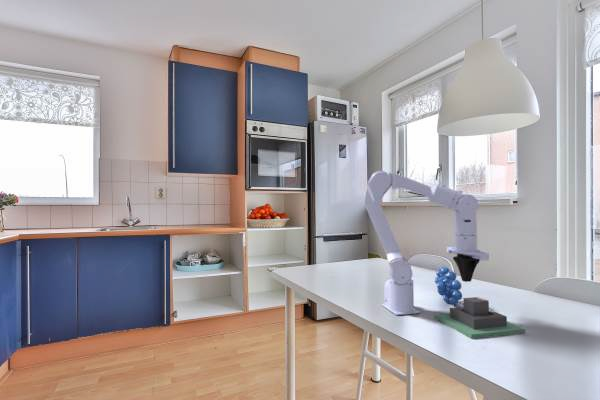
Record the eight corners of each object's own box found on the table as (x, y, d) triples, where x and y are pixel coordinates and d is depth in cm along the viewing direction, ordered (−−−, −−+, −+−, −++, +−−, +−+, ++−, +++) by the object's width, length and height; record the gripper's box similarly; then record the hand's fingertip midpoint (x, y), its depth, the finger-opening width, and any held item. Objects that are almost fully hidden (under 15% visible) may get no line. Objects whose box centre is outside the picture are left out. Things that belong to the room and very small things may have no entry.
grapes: (425, 299, 106) (425, 264, 106) (442, 297, 107) (441, 263, 107) (449, 310, 94) (449, 271, 95) (467, 308, 96) (467, 270, 96)
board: (434, 318, 88) (434, 305, 88) (482, 313, 91) (481, 301, 91) (471, 338, 74) (470, 323, 74) (525, 332, 77) (525, 318, 77)
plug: (463, 323, 84) (463, 297, 84) (478, 322, 85) (478, 296, 85) (473, 328, 80) (473, 301, 80) (489, 327, 81) (488, 300, 81)
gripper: (497, 236, 83) (498, 286, 83) (459, 232, 97) (460, 274, 97) (475, 237, 81) (476, 288, 81) (440, 233, 96) (441, 276, 95)
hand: (466, 281), depth 89 cm, fingers closed
